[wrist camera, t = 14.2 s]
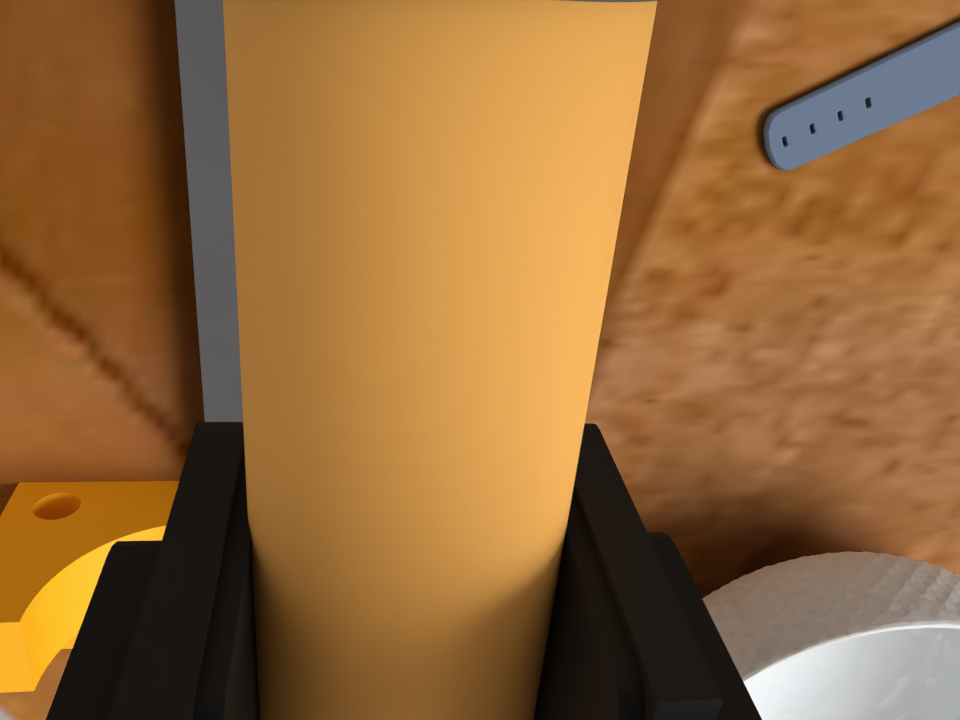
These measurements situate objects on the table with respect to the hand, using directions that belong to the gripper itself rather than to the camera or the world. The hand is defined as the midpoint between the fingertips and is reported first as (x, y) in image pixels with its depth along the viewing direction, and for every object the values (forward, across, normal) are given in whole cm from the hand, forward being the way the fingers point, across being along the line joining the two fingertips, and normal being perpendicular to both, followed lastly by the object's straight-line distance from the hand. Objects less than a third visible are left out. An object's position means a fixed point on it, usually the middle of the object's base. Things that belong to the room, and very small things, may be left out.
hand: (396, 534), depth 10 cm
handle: (0, 0, 0) cm, 0 cm away
